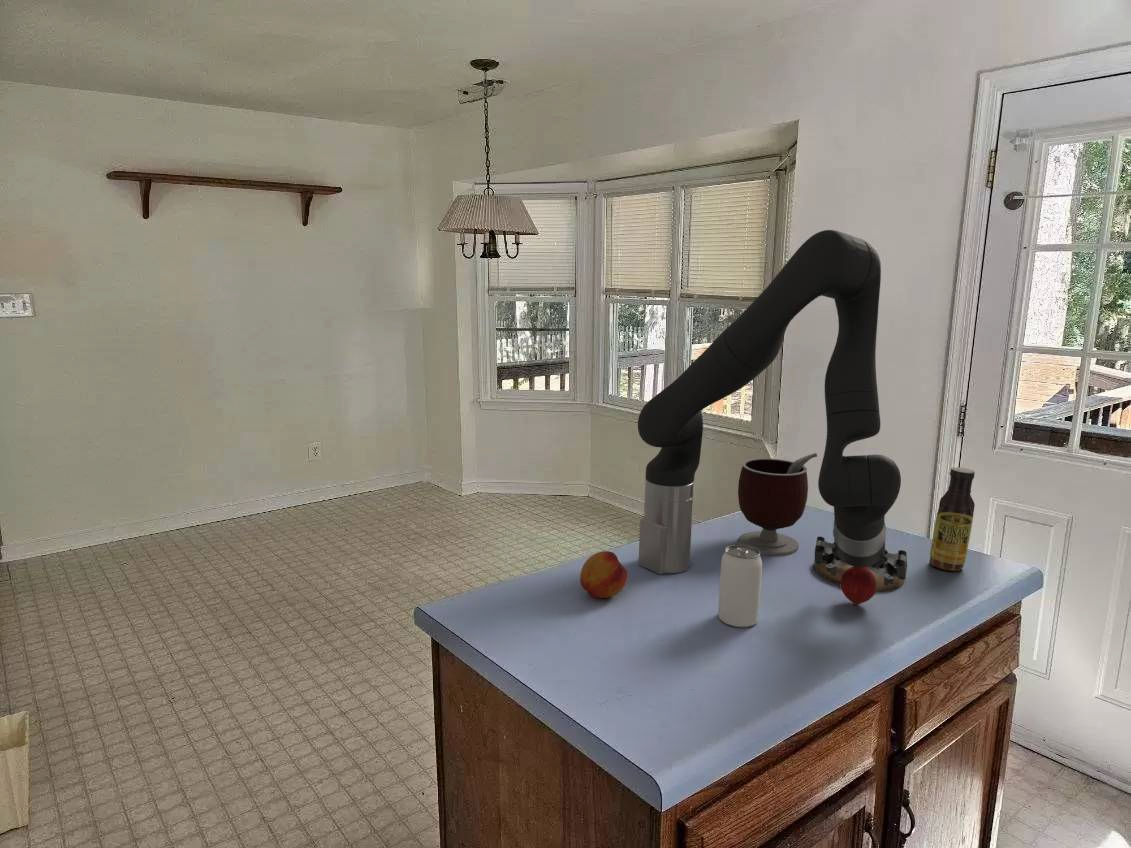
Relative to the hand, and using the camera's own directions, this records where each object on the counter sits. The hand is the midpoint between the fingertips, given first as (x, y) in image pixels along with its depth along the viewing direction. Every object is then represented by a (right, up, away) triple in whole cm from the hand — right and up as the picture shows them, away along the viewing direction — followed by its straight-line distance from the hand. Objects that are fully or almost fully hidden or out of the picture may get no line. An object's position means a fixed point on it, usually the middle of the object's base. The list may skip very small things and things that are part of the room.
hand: (859, 575), depth 125 cm
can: (-23, -6, -6) cm, 24 cm away
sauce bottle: (+24, -2, +17) cm, 30 cm away
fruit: (-45, -4, +2) cm, 45 cm away
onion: (-1, -5, 0) cm, 5 cm away
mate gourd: (-7, +1, +27) cm, 28 cm away
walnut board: (+5, -2, +13) cm, 15 cm away
